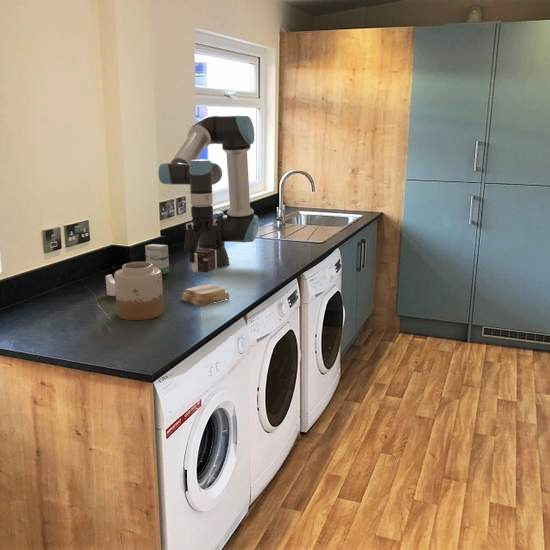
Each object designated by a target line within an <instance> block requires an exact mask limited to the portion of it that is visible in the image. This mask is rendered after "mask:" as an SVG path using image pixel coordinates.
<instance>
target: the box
mask: <svg viewBox="0 0 550 550" xmlns="http://www.w3.org/2000/svg"><path fill="white" fill-rule="evenodd" d="M195 253H197V261H198V272H197V273H206V274H207V273H211V271H214V270H216V268H215V249H207V248H199V249H198V248H196V251H195Z"/></svg>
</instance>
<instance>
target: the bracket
mask: <svg viewBox="0 0 550 550" xmlns="http://www.w3.org/2000/svg"><path fill="white" fill-rule="evenodd" d="M105 285H106V286H105V288H106V295H107V296H113V297H116V292H115V280H114V276H113V274H108V275H105Z"/></svg>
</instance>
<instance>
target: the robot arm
mask: <svg viewBox="0 0 550 550" xmlns="http://www.w3.org/2000/svg"><path fill="white" fill-rule="evenodd" d="M254 142H255V129H254V123H253V121H252V119H251V117H250V116H249V115H247V114H240V113H239V114H237V113H236V114H234V113H233V114H211V115H208V116H205V117H203V118H201V119H200V120H198V121H197V122H195V123H194V124H193V125H192V126H191V127H190V129H189V130H188V132H187V138H186V139H185V140H184V142H183V144H182V145H181V147H180V148H179V150H177V152H176V154H175V156H174V157H173V158H172V160H171V161H170V162H169V163H168V162H166V163H165V162H163V163H161V164H160V165H159V167H158V173H157V174H158V179H159V182H160V183H161V184H162V185H163V184H164V185H170V186H171V185H174V186H175V185H186V186H187V185H189V188H190V189H189V190H190V192H189V193H190V205H191V207H190V214H191V218H192V220H191V222H189V223H184V229H185V232H184V247H183V252H184V253H188V255H189V256H188V257H189V262H190V264H191V272H193V273H194V272H195V273H199V272H198V261H197V253H195V251H196V250H197V249H199V248H207V249H215V269H218V268H224V267H227V266H228V265H230V258H229V255H228V253H227V248H226V245H225V244H226V243H225V242H227V243H252V242H254V241H255V240H256V238H257V235H258V229H259V220H260V219H259V216H258V215H256V214H255V211H254V209H253V208H252V207H251V202H250V201H251V200H250V183H249V161H248V151H249V150H250V149H251V145H253V144H254ZM209 145H222V146H221V147H222V148H221V149H222V151H224V153H226V166H227V180H228V182H227V184H228V196H229V209H228V210H227V212H226V214H225V212H224V211H222V210H215V211H214V206H213V186H214V185H216V184H217V183H219V182H220V181H221V180H222V178H223V170H222V167H221V166H220V164H217V163H214V162H212V161H211V160H210V159H200V158H199V157H200V156H201V154H202V152H203V151H204V149H205V148H208V147H209Z"/></svg>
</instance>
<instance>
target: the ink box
mask: <svg viewBox="0 0 550 550" xmlns="http://www.w3.org/2000/svg"><path fill="white" fill-rule="evenodd" d="M144 248H145V262H149V263H152V265H153V267H156V268H159V269H160V270H161V273H162V275H166V274H168V273H170V261H169V259H170V258H169V245H167V244H158V243H157V244H156V243H151V244H147V245H144Z"/></svg>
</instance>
